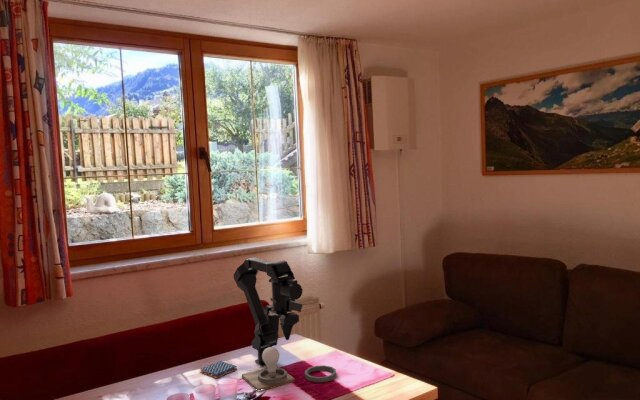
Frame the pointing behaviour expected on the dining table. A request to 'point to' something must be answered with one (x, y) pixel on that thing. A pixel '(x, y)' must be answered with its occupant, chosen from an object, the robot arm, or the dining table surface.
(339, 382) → the dining table surface
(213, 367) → the woven mat
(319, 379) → the collar
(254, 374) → the socket board
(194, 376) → the dining table surface
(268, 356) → the lightbulb
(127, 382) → the dining table surface
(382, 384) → the dining table surface
